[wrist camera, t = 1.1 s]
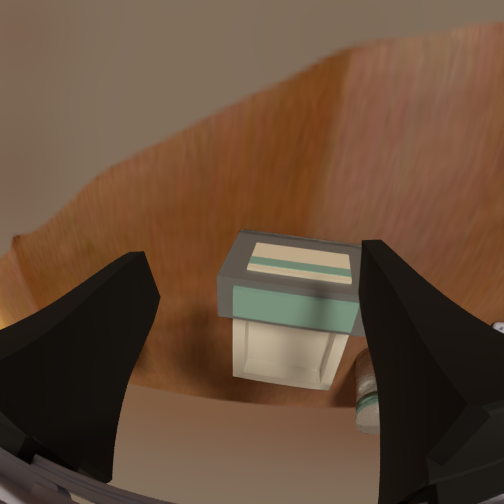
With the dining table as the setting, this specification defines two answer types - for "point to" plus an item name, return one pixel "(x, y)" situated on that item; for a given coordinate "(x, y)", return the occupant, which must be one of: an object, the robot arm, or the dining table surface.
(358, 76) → the dining table surface
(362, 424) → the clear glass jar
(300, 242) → the charging station
